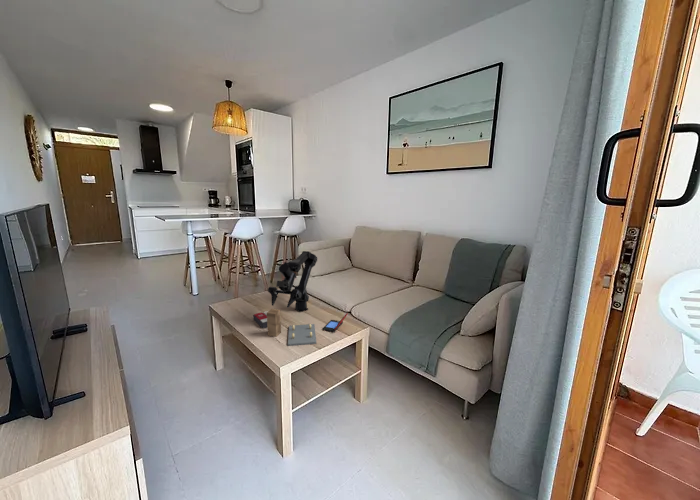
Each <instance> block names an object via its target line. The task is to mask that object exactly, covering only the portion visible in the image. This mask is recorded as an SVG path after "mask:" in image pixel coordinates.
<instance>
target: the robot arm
mask: <svg viewBox="0 0 700 500" xmlns="http://www.w3.org/2000/svg"><path fill="white" fill-rule="evenodd" d="M317 262H318V256H317V255H316V254H314V253H312V252H310V251H307V250H303V251H302V252H301V254H299V255H298V256H297V257H296V258H294V259H292V260H290V261H288V262H287V261H285V262H284V263H282V264H281V265H280V266H279V267H278V271H279V273H280V274H281V275H282V277H284V278H283V279H282V280H277V281H276V286H268V288H267V292H268V293H269V294H270V295H271V306H273V307H274V305H275V303H276V301H277V299H278V295H279V294H282V295H289V296H290V297H289V299H288V302H287V305H286V308H287V309H289V308H290V307H291V305H292V304H293V303H295V307H294V310H295V311H297V312H299V313H302V312H305V311H307V310H309V307H308V305H307V304H308V302H309V299H310V295H308V294H309V293H308V291H307V286H308V282H309V278H310V276H311V271H312V269H313V268H314V267H315V266H316V264H317ZM303 264H304V267H303V270H302V273H301V277H300V280H299V283H298V285H295V287H294V281H295V279H297V278H298V277H297V274H296V273H299V271H300V270H301V269H302V265H303ZM295 272H296V273H295ZM277 287H278V288H279V289H278V288H277ZM293 287H294V288H293Z"/></svg>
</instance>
